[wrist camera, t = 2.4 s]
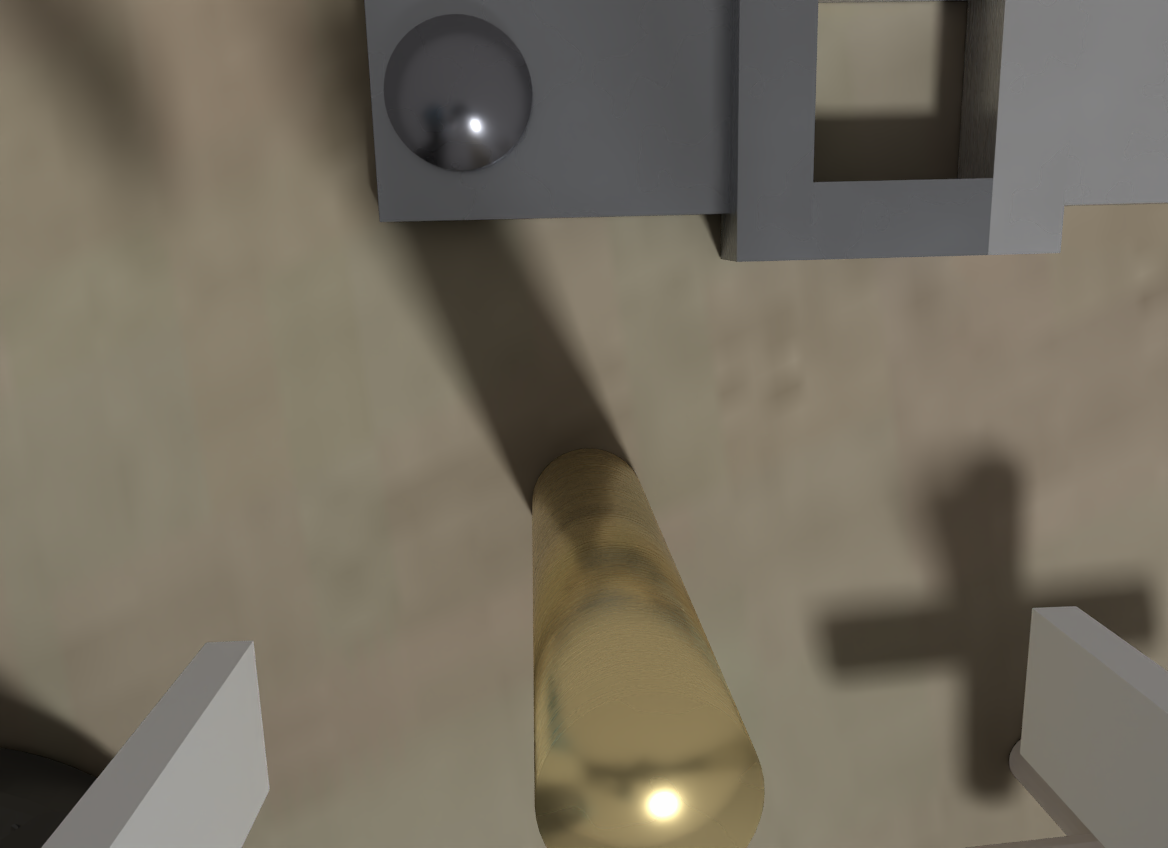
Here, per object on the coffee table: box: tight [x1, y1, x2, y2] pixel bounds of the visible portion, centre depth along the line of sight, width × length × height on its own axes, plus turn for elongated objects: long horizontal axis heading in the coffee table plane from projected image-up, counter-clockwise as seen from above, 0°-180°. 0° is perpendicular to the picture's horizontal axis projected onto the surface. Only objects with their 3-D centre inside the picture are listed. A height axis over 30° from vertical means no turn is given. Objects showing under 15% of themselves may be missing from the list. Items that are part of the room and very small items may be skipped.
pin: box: [532, 449, 764, 848], centre depth 20 cm, size 3×3×14 cm
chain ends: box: [364, 0, 1168, 262], centre depth 23 cm, size 26×8×3 cm, turn 92°
